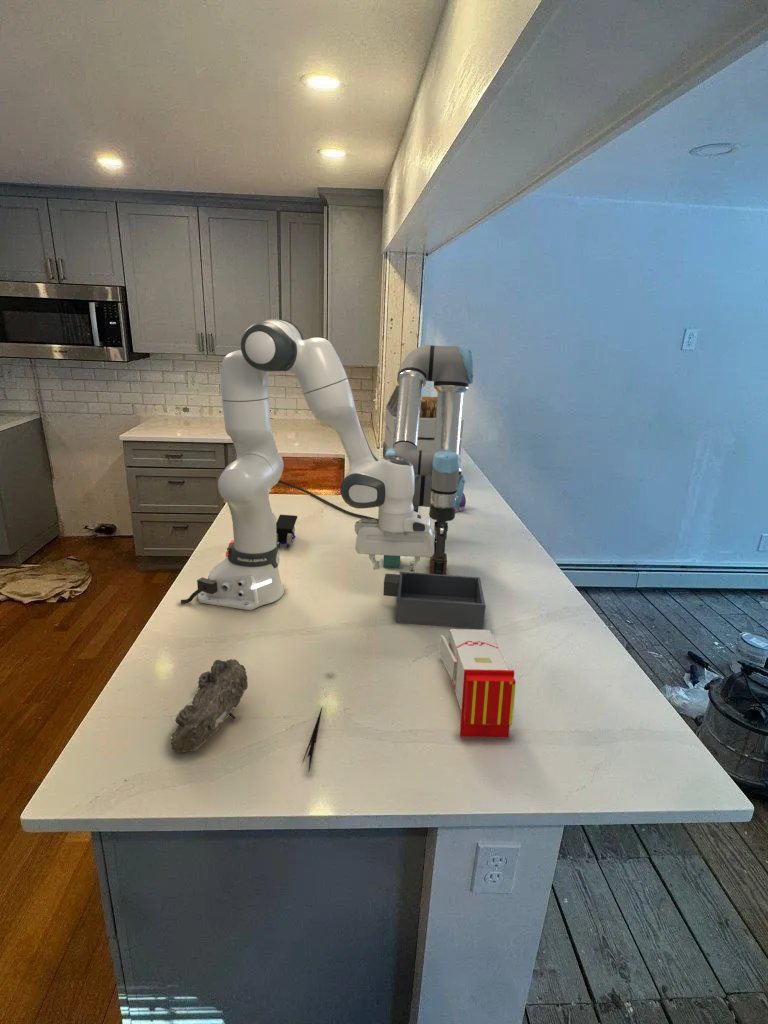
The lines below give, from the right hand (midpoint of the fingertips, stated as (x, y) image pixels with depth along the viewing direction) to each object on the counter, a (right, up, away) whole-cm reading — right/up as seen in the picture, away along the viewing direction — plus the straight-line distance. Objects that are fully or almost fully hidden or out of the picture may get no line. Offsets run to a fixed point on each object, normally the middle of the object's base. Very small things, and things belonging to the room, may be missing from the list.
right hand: (437, 571), depth 172 cm
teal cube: (-14, +2, +4) cm, 14 cm away
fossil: (-48, -21, -64) cm, 83 cm away
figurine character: (-49, +8, +16) cm, 52 cm away
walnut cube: (0, 0, 0) cm, 0 cm away
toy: (+2, -20, -54) cm, 57 cm away
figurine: (+12, +19, +55) cm, 60 cm away
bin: (-4, -8, -22) cm, 24 cm away
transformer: (+1, +37, +102) cm, 109 cm away
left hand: (-14, +3, -25) cm, 29 cm away
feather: (-29, -22, -64) cm, 73 cm away
